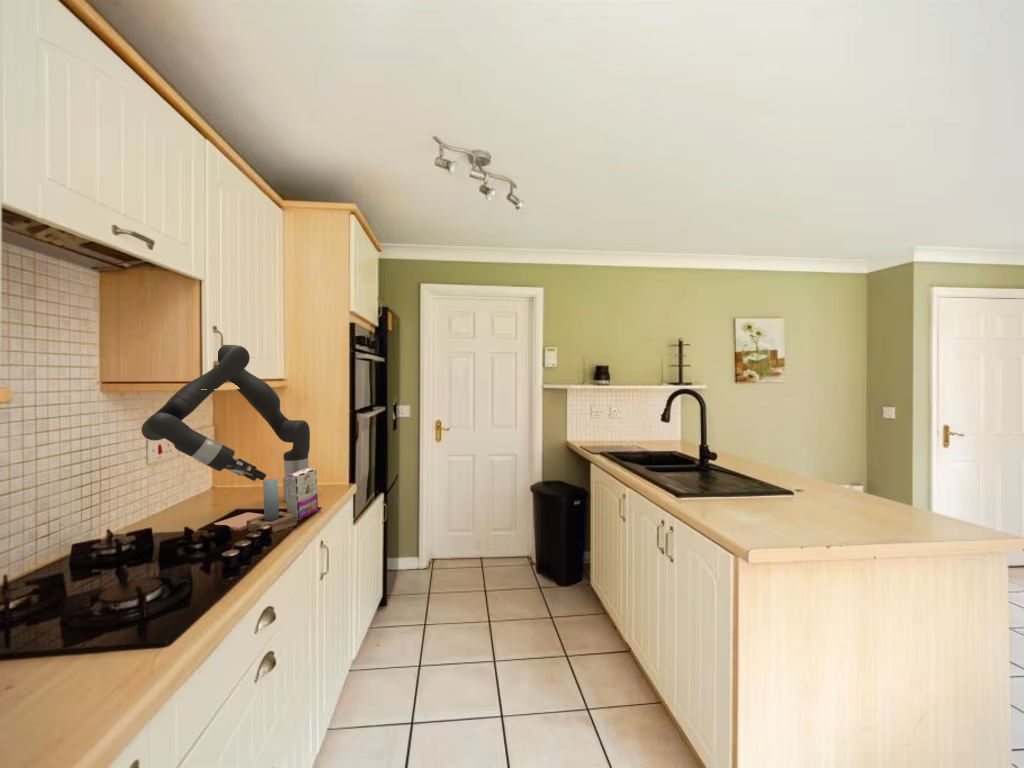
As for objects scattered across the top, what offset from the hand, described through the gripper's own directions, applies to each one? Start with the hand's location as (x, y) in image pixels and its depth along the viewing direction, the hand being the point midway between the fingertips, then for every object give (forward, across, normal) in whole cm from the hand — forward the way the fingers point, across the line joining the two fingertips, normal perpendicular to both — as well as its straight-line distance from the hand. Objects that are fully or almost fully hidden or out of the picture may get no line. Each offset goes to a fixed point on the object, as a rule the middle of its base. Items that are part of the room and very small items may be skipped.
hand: (260, 478), depth 149 cm
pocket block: (+13, +4, +12) cm, 18 cm away
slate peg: (+13, +4, +12) cm, 18 cm away
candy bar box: (+22, +8, +4) cm, 24 cm away
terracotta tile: (+8, +17, +13) cm, 23 cm away
